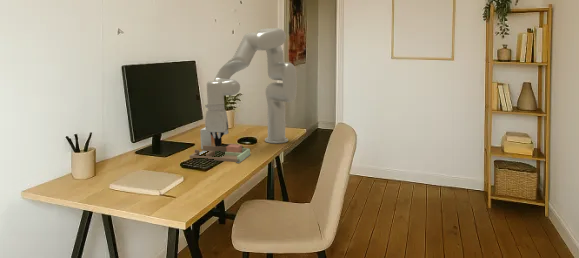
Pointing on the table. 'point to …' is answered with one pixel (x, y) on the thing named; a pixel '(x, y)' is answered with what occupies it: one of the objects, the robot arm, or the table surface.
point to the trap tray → (227, 157)
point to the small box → (206, 138)
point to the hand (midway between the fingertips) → (218, 145)
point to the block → (234, 148)
